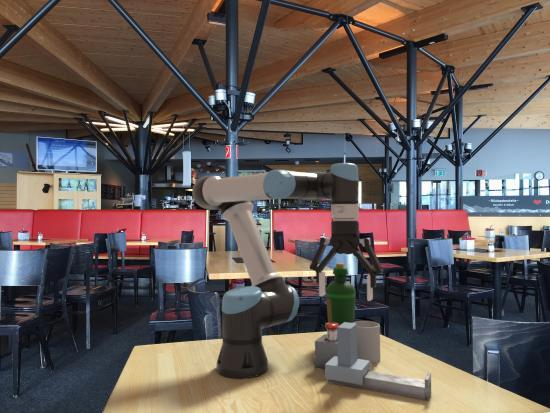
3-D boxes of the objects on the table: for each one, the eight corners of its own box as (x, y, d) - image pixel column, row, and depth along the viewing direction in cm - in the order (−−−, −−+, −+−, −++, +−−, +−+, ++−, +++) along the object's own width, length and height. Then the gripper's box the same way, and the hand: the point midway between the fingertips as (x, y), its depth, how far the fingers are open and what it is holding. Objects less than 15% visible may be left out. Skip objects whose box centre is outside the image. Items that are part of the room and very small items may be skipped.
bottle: (340, 337, 159) (339, 261, 159) (363, 343, 150) (361, 263, 151) (319, 342, 152) (318, 263, 152) (342, 349, 144) (341, 266, 144)
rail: (327, 382, 116) (327, 363, 116) (333, 376, 120) (333, 358, 121) (428, 400, 104) (428, 379, 104) (431, 392, 108) (430, 373, 109)
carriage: (325, 378, 115) (324, 326, 115) (335, 368, 122) (334, 320, 122) (361, 385, 110) (361, 331, 110) (370, 374, 117) (369, 323, 117)
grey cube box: (315, 368, 127) (314, 340, 127) (324, 359, 134) (324, 334, 134) (341, 372, 123) (340, 344, 123) (349, 363, 130) (349, 337, 130)
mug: (380, 364, 129) (380, 328, 129) (352, 363, 131) (351, 326, 131) (379, 352, 141) (379, 318, 141) (353, 350, 143) (352, 317, 143)
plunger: (323, 355, 128) (323, 324, 128) (328, 351, 131) (328, 321, 131) (336, 357, 126) (336, 326, 126) (341, 353, 129) (340, 323, 130)
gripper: (297, 220, 120) (298, 296, 120) (387, 220, 108) (388, 304, 108) (308, 219, 127) (309, 291, 126) (394, 219, 115) (394, 299, 115)
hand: (345, 297), depth 117 cm, fingers open, 13 cm apart
